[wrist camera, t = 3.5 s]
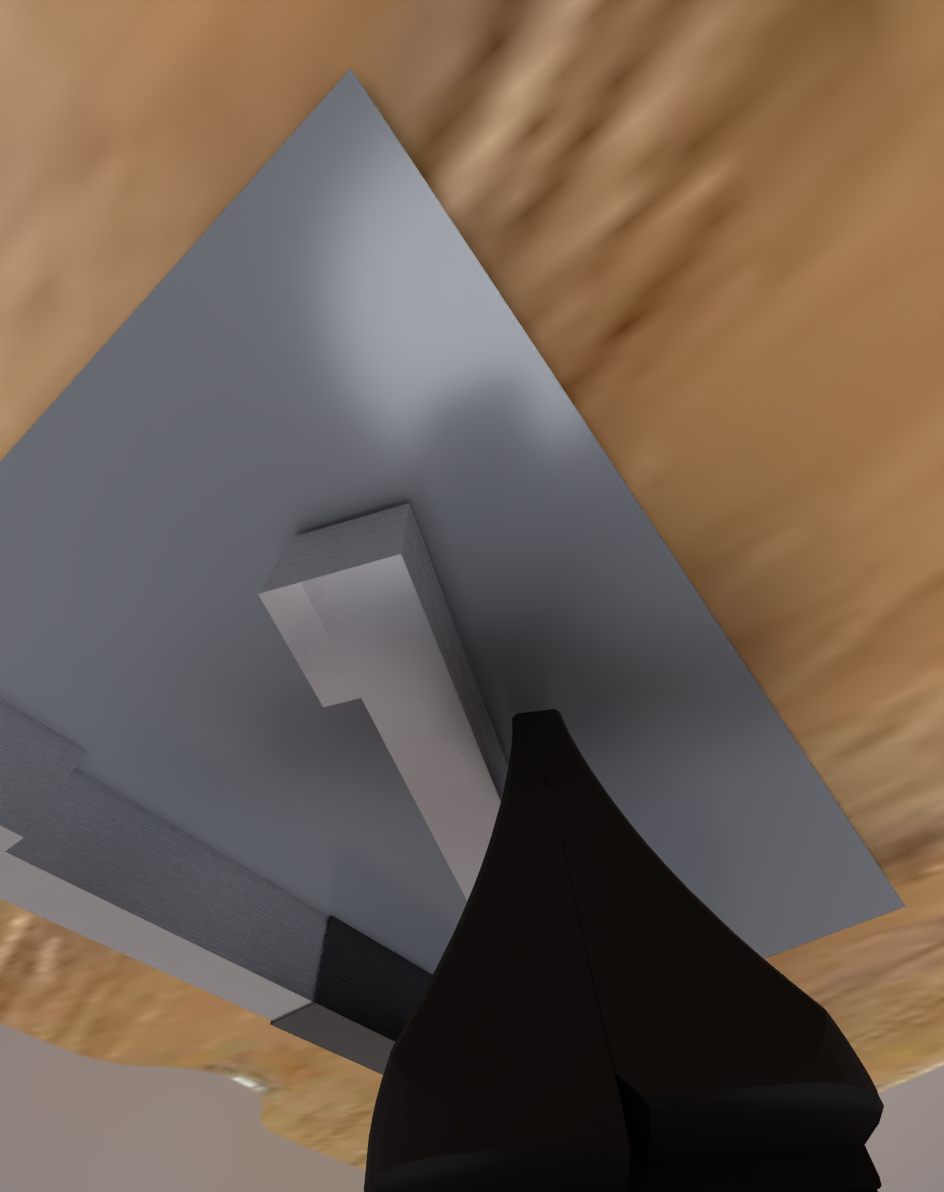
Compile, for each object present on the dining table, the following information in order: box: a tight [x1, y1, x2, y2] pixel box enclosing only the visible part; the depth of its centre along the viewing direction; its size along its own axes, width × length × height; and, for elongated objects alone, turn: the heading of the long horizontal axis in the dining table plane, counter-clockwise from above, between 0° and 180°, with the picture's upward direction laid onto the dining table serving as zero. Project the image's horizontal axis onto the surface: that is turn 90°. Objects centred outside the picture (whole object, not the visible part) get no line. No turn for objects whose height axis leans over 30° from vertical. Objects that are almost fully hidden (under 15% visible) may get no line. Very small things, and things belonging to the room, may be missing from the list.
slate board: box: [0, 68, 905, 975], centre depth 16 cm, size 25×18×1 cm
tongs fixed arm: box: [0, 698, 433, 1075], centre depth 15 cm, size 17×2×2 cm, turn 38°
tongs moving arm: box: [258, 503, 508, 901], centre depth 15 cm, size 22×5×2 cm, turn 16°
